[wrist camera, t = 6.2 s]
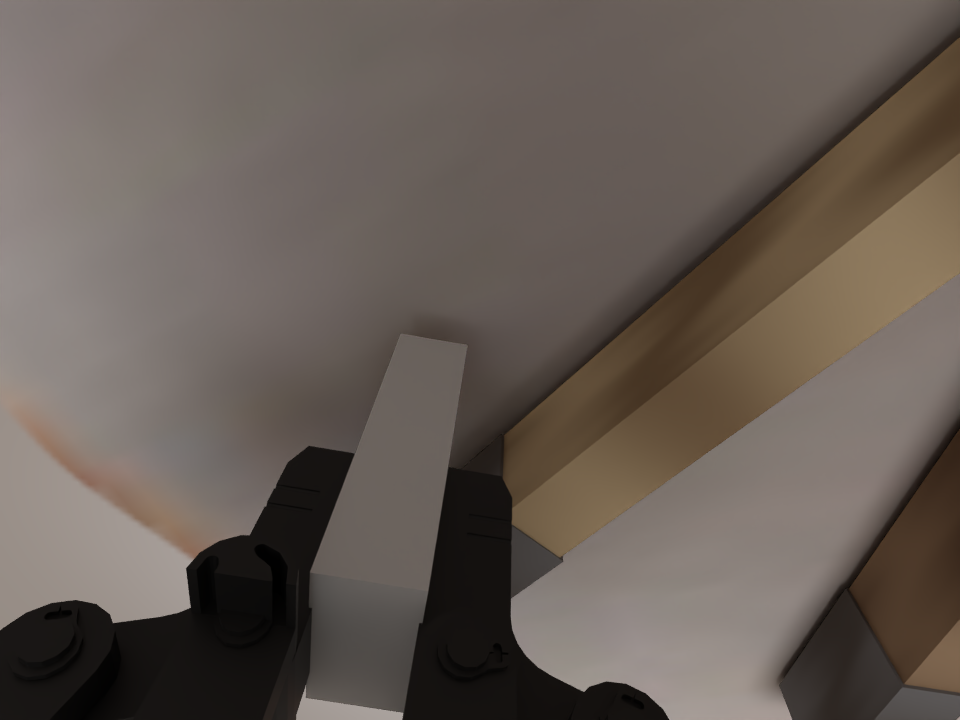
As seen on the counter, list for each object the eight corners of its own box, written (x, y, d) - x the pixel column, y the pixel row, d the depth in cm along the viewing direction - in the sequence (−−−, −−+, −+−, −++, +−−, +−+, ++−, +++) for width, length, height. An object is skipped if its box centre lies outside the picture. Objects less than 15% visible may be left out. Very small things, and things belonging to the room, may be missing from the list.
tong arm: (1249, -225, 9) (1655, -360, 6) (1298, -116, 10) (1689, -183, 6) (388, 532, 18) (360, 645, 15) (440, 565, 18) (424, 681, 15)
